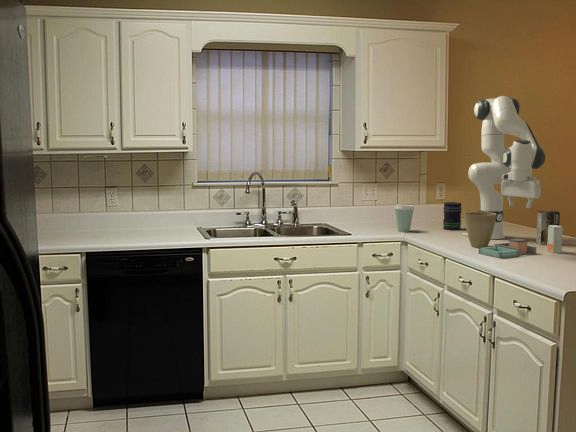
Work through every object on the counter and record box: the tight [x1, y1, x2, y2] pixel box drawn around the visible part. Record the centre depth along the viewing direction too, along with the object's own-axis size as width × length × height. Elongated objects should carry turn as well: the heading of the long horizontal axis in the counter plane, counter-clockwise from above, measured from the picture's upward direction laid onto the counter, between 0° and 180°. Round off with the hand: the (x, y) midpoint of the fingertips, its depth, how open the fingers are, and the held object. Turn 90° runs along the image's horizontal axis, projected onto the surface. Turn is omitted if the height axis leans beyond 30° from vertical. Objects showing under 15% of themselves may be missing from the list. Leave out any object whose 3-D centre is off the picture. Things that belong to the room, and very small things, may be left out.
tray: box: [478, 246, 519, 259], centre depth 297 cm, size 13×11×2 cm
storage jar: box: [442, 201, 462, 232], centre depth 378 cm, size 10×10×15 cm
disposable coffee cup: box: [394, 203, 415, 233], centre depth 370 cm, size 11×11×15 cm
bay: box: [493, 242, 537, 257], centre depth 304 cm, size 15×11×3 cm
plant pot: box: [463, 211, 496, 249], centre depth 318 cm, size 15×15×16 cm
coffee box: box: [535, 210, 561, 246], centre depth 327 cm, size 9×6×16 cm
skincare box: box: [546, 225, 564, 254], centre depth 304 cm, size 6×4×12 cm
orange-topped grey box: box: [508, 237, 528, 255], centre depth 302 cm, size 5×6×6 cm
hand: (519, 207), depth 300 cm, fingers open, 8 cm apart
